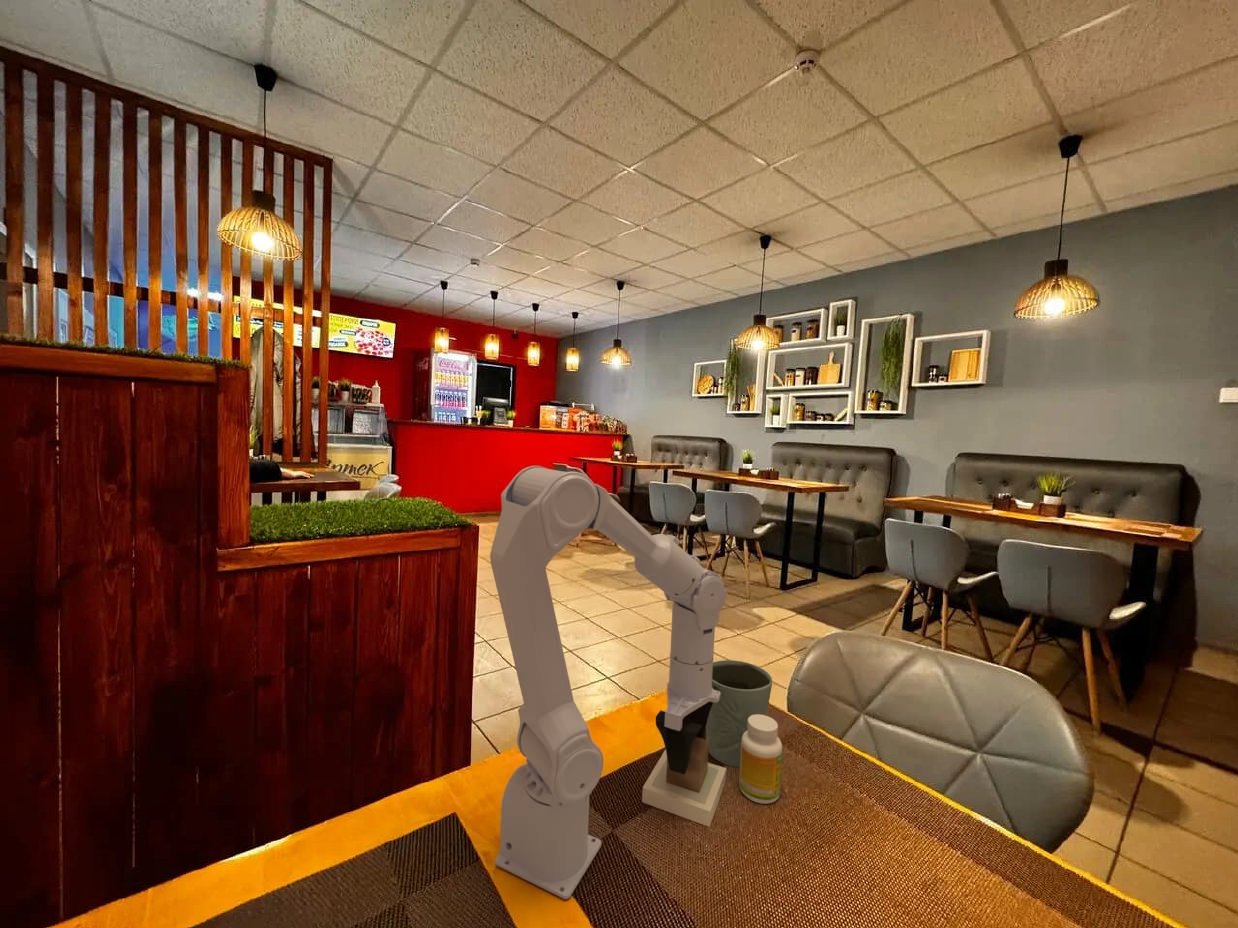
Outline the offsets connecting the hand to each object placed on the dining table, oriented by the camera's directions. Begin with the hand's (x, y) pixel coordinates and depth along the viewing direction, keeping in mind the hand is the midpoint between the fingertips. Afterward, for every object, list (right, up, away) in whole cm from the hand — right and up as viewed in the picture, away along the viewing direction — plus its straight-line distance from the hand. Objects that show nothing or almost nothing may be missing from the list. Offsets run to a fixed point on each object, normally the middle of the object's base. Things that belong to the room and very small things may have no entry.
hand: (686, 753), depth 67 cm
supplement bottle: (+10, -6, +1) cm, 12 cm away
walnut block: (0, -3, 0) cm, 3 cm away
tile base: (0, -5, 0) cm, 5 cm away
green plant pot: (+9, -5, +10) cm, 15 cm away
